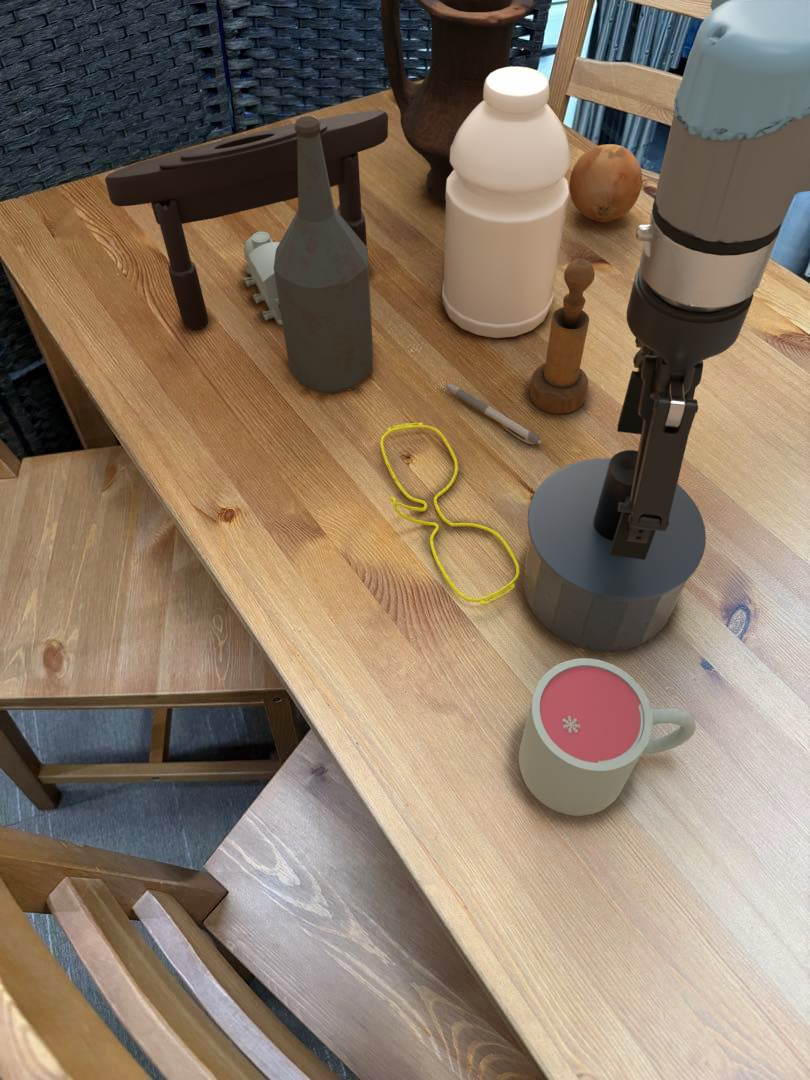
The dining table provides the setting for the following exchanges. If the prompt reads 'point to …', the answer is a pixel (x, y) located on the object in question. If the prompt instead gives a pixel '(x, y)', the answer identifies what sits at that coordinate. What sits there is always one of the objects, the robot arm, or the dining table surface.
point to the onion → (605, 182)
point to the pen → (495, 415)
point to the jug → (448, 72)
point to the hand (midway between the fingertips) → (630, 489)
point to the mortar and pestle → (565, 348)
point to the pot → (592, 611)
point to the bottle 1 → (323, 281)
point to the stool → (243, 194)
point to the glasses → (420, 425)
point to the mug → (590, 735)
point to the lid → (610, 532)
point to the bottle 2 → (505, 207)
